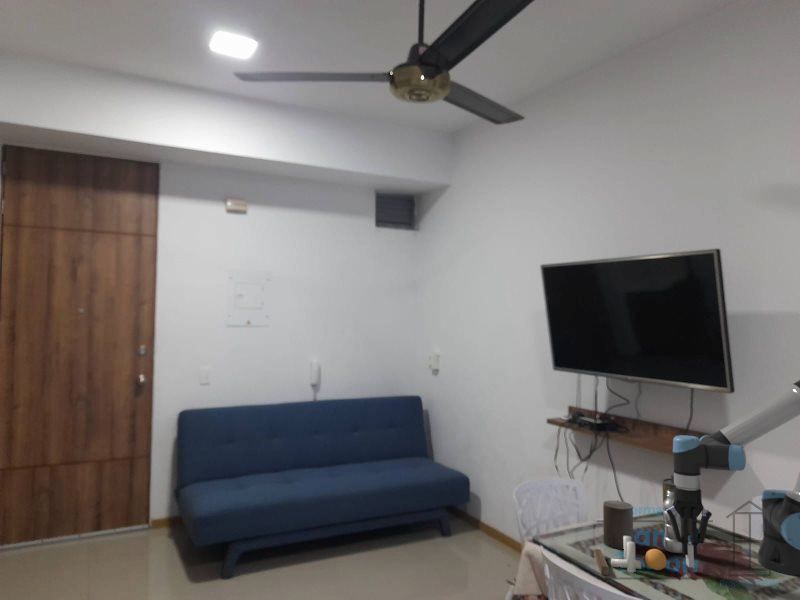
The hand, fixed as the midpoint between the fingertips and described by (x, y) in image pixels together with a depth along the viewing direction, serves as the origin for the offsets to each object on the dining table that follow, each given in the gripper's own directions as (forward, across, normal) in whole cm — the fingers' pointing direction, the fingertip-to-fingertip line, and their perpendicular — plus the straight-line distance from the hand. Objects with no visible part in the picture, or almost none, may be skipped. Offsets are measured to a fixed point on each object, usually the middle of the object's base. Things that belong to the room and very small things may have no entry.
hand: (690, 565), depth 173 cm
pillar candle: (+2, +17, -20) cm, 26 cm away
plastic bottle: (+2, 0, -16) cm, 16 cm away
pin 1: (+2, +18, -2) cm, 18 cm away
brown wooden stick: (+2, +26, 0) cm, 26 cm away
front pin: (+1, +14, 0) cm, 14 cm away
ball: (-1, +10, 0) cm, 10 cm away
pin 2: (+2, +18, +2) cm, 18 cm away
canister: (+2, -8, -40) cm, 41 cm away
